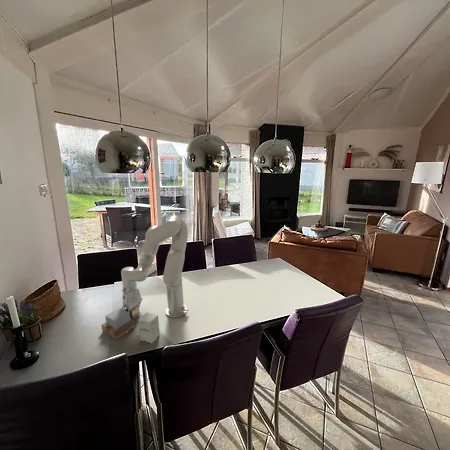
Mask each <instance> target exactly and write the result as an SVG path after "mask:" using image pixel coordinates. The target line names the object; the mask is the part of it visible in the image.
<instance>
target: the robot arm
mask: <svg viewBox="0 0 450 450" xmlns="http://www.w3.org/2000/svg"><path fill="white" fill-rule="evenodd" d="M188 236H189V230H188V227H187V224H186V222H185V221H184V219H183V218H181V217H180V216H178V215H171V216H169V217H168V218H167V220H166V221H165V222H162V224H160V225H152V226H150V227H149V228H148V229H147V230H146V233H145V235H144V237H145V239H144V242H143V244H142V248H141V257H140V261H139V263H138V265H137V267H136V268H134V267H133V266H126V267H123V268H122V269H121V271H120V274H121V281H122V282H121V283H122V289H121V292H122V307H121V309H123V310H125V311H127V312H129V313H130V318H131V319H132V316H131V312H130V309H131V308H132V307H134V306H137V307H139V308H140V306H141V303H142V302H143V299H144V298H142V295H141V292H140V289H139V287H138V285H137V282H139V283H140V282H144V281H146V280H147V278H148V276H149V273H150V271H151V268H152V266H153V262H154V261H155V257H156V255H157V253H158V250H159V247H160V244H161V242H164V241H166V240H167V239H168V240H169V239H170V238H171V244H170V248H169V251H168V253H167V256H166V259H165V264H164V265H165V266H164V270H163V276H162V280H163V283H164V284H165V288H166V300H167V308H166V310H165V315H166V316H168V317H169V318H172V319H173V318H181V317H182V316H186V315H187V314H188V311H189V309H188V308H187V307H186V305H185V302H184V290H183V268H184V263H185V257H186V256H185V253H186V248H187V244H188Z"/></svg>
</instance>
